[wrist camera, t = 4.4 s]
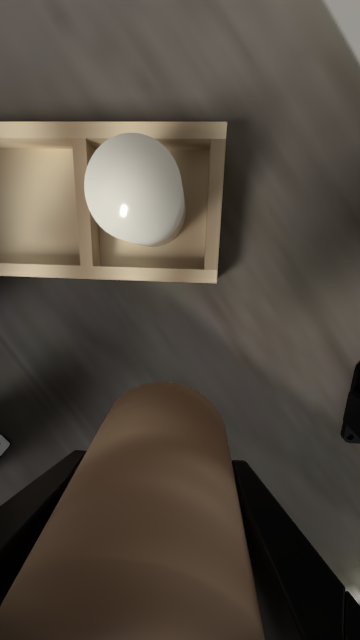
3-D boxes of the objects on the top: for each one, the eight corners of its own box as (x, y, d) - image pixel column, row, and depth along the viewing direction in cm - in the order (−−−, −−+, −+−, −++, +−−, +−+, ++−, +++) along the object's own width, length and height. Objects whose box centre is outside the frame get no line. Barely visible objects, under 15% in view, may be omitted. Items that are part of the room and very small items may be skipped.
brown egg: (230, 385, 8) (285, 571, 3) (222, 491, 9) (254, 751, 4) (100, 379, 8) (-29, 545, 3) (107, 483, 9) (14, 723, 5)
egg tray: (223, 139, 15) (227, 121, 13) (214, 280, 17) (216, 283, 15) (-31, 138, 16) (-63, 121, 14) (-10, 273, 18) (-36, 274, 16)
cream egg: (187, 173, 15) (183, 132, 10) (184, 248, 16) (180, 242, 11) (117, 173, 15) (80, 132, 10) (119, 246, 16) (87, 240, 11)
